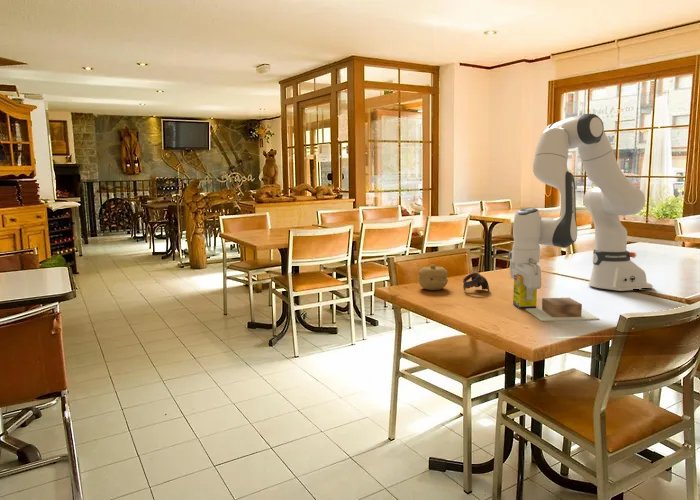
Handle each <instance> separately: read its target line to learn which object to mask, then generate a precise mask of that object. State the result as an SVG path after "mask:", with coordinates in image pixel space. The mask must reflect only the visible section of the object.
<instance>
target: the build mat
mask: <svg viewBox="0 0 700 500" xmlns="http://www.w3.org/2000/svg"><path fill="white" fill-rule="evenodd" d="M525 310H526V311H527V312H528V313H530V314H531V315H533V317H535V318H536V319H538V320H539V321H541V322H561V321H563V322H565V321H598V320H600V317H597V316H596V315H594V314H592V313H590V312H588V311H586V309H583V308H582V313H581V317H552V316H550V315H549V314H547V313H546V312H544V311H543V310H542V307H540V308H539V307H536V308H527V309H525Z"/></svg>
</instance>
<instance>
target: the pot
mask: <svg viewBox="0 0 700 500" xmlns="http://www.w3.org/2000/svg"><path fill="white" fill-rule="evenodd" d="M417 274H418V276H419V277H418V279H417V282H418V283H419V286H420V287H421V288H422V289H425V290H428V291H438V290H442V289H444V288H445V287H446V285H447V284H448V281H449V279H448V278H447V276H448V270H447V269H446V268H444V267H443V266H440V265H439V266H438V265H436V264H431V265H429V266H427V265H426V266H423V267H421V268H420V269H419V270H418V273H417Z"/></svg>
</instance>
